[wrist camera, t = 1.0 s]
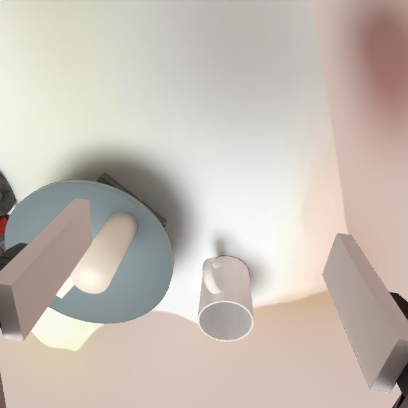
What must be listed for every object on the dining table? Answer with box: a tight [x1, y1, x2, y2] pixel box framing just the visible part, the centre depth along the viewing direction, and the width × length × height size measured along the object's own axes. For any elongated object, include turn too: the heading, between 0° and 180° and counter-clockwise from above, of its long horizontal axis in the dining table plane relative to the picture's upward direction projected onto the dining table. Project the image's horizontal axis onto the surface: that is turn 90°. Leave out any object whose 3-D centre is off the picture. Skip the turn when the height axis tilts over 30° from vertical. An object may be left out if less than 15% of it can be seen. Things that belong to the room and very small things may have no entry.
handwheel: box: [5, 180, 174, 324], centre depth 37 cm, size 22×22×12 cm
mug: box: [198, 256, 254, 341], centre depth 48 cm, size 12×8×10 cm, turn 20°
